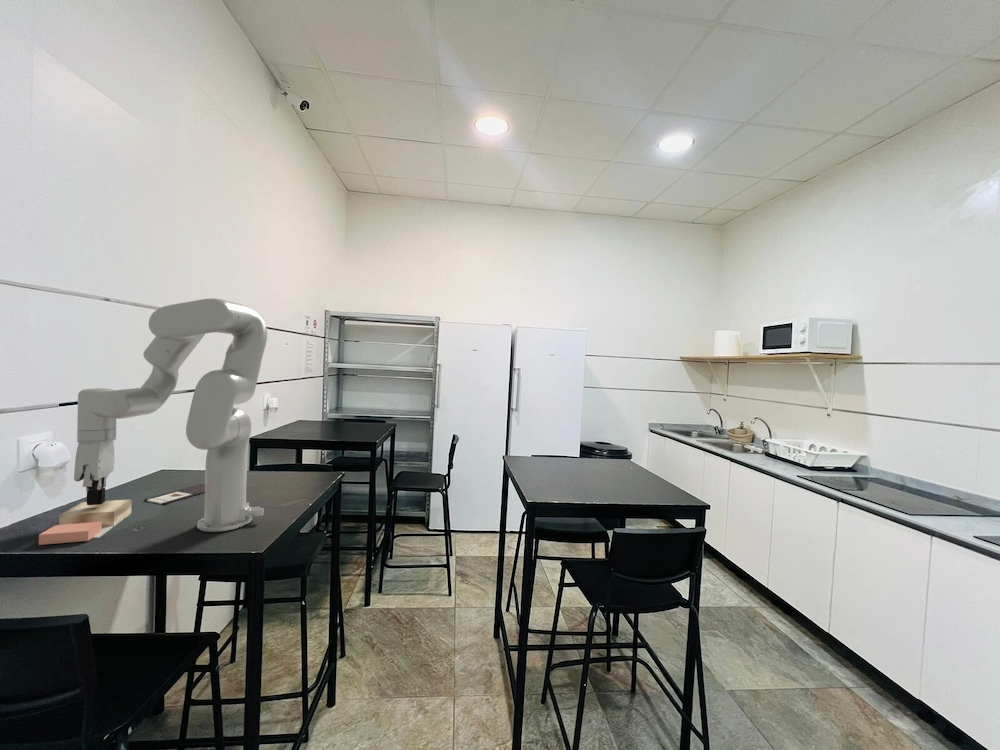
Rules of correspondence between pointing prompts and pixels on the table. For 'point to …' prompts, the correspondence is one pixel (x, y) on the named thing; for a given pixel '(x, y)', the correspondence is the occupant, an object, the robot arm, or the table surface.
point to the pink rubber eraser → (70, 533)
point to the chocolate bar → (177, 495)
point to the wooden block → (97, 513)
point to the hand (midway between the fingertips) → (95, 503)
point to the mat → (104, 530)
